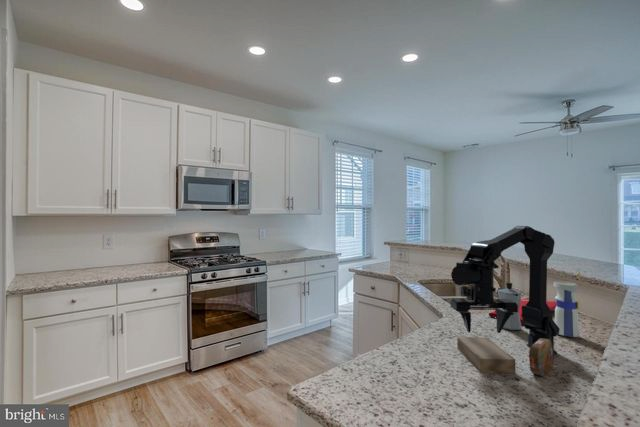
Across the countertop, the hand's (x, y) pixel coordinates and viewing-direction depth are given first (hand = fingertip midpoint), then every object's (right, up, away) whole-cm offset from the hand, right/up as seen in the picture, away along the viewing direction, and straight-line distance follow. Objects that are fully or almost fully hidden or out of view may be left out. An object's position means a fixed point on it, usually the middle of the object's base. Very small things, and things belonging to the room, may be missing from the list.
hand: (483, 332), depth 102 cm
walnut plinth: (0, -9, 0) cm, 9 cm away
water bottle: (+44, -9, +24) cm, 51 cm away
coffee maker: (+26, -9, +32) cm, 43 cm away
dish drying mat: (+46, -10, +52) cm, 70 cm away
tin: (+14, -9, -7) cm, 18 cm away
